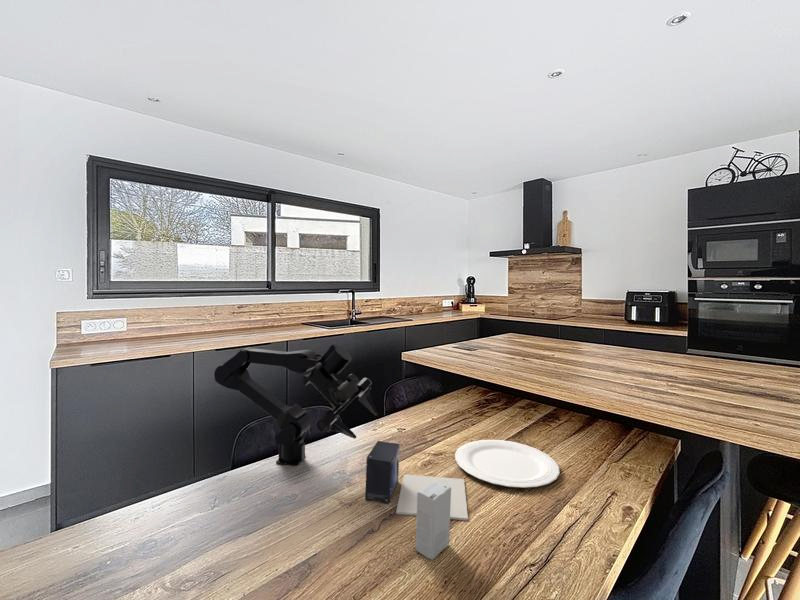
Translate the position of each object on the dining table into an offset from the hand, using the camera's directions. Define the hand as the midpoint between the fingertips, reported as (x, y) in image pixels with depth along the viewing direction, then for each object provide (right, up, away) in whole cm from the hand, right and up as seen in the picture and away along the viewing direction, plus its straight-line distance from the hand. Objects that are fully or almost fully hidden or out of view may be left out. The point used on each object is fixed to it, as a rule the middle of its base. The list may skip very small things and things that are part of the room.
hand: (366, 426), depth 104 cm
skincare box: (+16, -14, -30) cm, 37 cm away
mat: (+17, -13, -11) cm, 25 cm away
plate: (+40, -14, +6) cm, 42 cm away
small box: (+5, -13, -10) cm, 17 cm away
